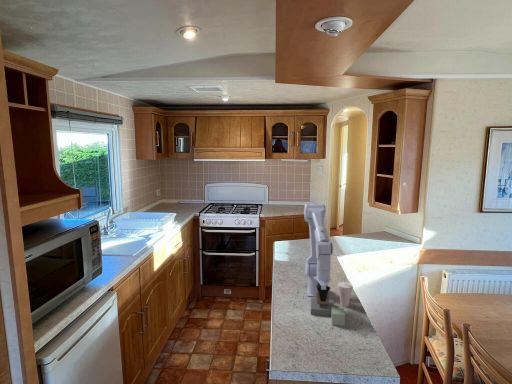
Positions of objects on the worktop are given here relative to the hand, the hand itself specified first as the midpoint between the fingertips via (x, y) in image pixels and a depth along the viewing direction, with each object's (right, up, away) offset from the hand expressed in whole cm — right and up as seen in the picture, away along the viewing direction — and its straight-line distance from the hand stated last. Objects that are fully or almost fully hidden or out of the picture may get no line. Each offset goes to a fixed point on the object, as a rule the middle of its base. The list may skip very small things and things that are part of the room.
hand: (322, 298), depth 138 cm
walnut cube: (0, -2, 0) cm, 2 cm away
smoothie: (+11, -5, +5) cm, 13 cm away
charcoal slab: (0, -6, +1) cm, 6 cm away
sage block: (+4, -7, -9) cm, 12 cm away
